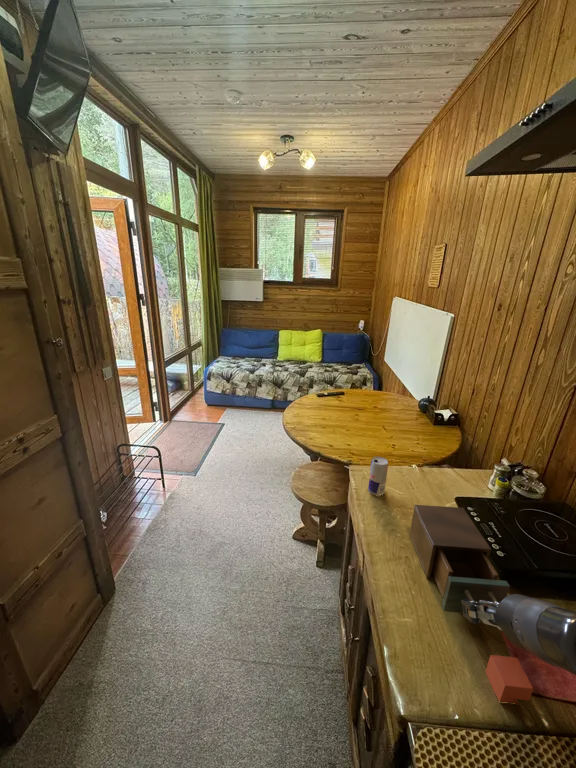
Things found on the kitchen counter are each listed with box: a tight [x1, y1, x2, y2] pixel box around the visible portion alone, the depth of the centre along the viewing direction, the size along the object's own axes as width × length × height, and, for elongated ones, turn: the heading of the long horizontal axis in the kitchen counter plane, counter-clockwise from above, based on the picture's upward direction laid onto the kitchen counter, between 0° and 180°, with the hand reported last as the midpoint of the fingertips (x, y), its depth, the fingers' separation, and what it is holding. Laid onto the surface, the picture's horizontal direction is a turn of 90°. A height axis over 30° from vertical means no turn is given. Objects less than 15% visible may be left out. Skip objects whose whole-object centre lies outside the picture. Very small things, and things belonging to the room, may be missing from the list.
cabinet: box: [409, 504, 492, 580], centre depth 77 cm, size 14×13×10 cm
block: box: [484, 654, 534, 705], centre depth 52 cm, size 4×4×4 cm
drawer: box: [432, 548, 510, 614], centre depth 67 cm, size 17×11×8 cm
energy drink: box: [367, 456, 389, 497], centre depth 101 cm, size 5×5×12 cm
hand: (482, 605), depth 60 cm, fingers closed on drawer, 5 cm apart
